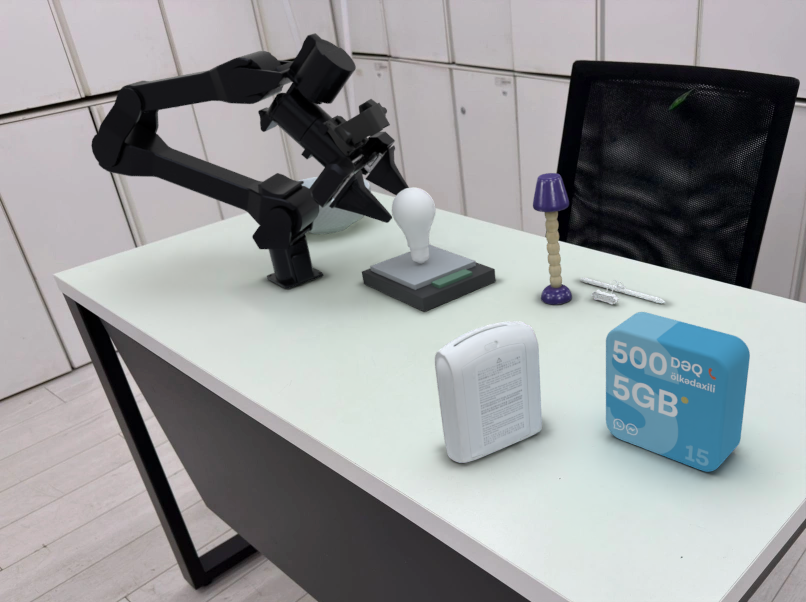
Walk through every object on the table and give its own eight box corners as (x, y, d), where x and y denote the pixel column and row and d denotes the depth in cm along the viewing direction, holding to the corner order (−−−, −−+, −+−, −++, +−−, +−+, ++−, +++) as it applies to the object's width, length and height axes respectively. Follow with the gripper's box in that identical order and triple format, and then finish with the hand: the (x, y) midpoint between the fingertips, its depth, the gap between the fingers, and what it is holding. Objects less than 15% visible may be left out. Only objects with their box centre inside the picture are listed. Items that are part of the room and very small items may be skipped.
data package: (604, 434, 73) (604, 325, 67) (629, 413, 76) (631, 307, 70) (717, 478, 66) (729, 361, 60) (739, 453, 69) (752, 339, 63)
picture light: (666, 303, 98) (667, 288, 97) (648, 315, 95) (648, 300, 94) (581, 280, 106) (581, 266, 105) (562, 290, 103) (562, 276, 102)
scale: (363, 284, 110) (360, 266, 109) (432, 257, 117) (430, 240, 116) (424, 312, 100) (421, 293, 99) (496, 281, 108) (494, 263, 106)
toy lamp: (532, 301, 101) (524, 179, 92) (546, 288, 104) (540, 169, 96) (564, 306, 99) (560, 182, 90) (578, 293, 102) (575, 171, 94)
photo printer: (525, 413, 78) (518, 305, 71) (549, 431, 74) (544, 320, 68) (438, 449, 73) (422, 338, 67) (460, 471, 70) (445, 355, 63)
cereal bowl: (289, 250, 125) (280, 209, 121) (273, 223, 138) (264, 185, 134) (387, 230, 130) (380, 190, 126) (362, 206, 143) (356, 169, 140)
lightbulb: (436, 271, 105) (425, 194, 99) (394, 271, 106) (382, 195, 101) (446, 255, 110) (437, 181, 104) (407, 255, 111) (396, 182, 106)
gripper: (314, 97, 89) (413, 189, 92) (371, 71, 105) (454, 150, 108) (269, 164, 95) (364, 248, 98) (330, 130, 110) (410, 203, 114)
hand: (401, 209), depth 104 cm, fingers open, 9 cm apart
